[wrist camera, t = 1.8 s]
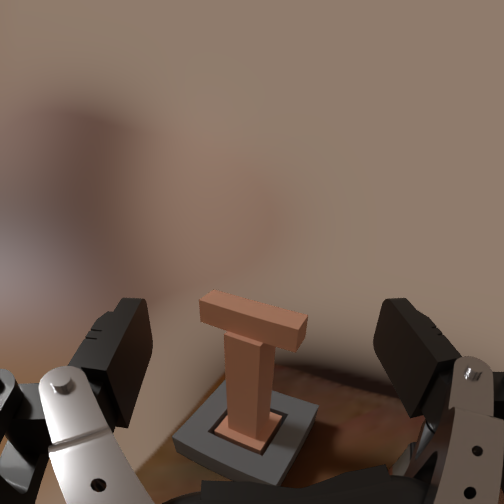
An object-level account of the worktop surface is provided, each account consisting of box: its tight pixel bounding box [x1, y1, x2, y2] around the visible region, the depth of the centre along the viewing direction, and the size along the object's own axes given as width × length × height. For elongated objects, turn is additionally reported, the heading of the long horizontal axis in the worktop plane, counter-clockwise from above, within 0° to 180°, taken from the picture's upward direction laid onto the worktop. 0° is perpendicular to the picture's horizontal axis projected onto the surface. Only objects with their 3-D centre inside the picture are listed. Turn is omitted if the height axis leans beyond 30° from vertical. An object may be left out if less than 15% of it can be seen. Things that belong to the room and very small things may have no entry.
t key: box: [199, 289, 308, 456], centre depth 26 cm, size 8×5×17 cm, turn 62°
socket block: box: [172, 379, 319, 486], centre depth 28 cm, size 11×11×3 cm
